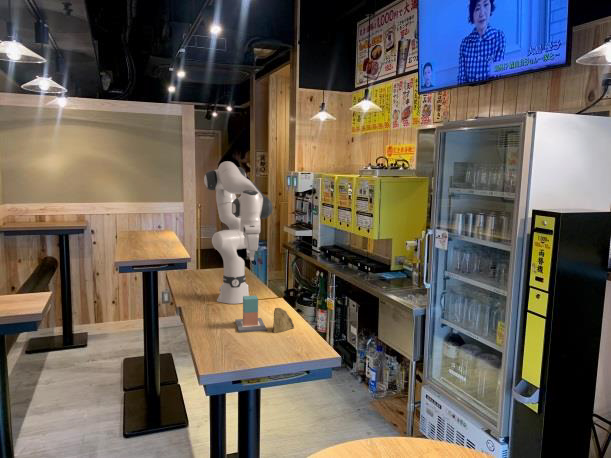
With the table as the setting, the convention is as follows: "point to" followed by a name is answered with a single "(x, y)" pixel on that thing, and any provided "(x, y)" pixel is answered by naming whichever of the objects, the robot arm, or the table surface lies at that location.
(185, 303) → the table surface
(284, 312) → the rock
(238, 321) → the grey flat plate
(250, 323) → the terracotta block
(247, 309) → the teal block
